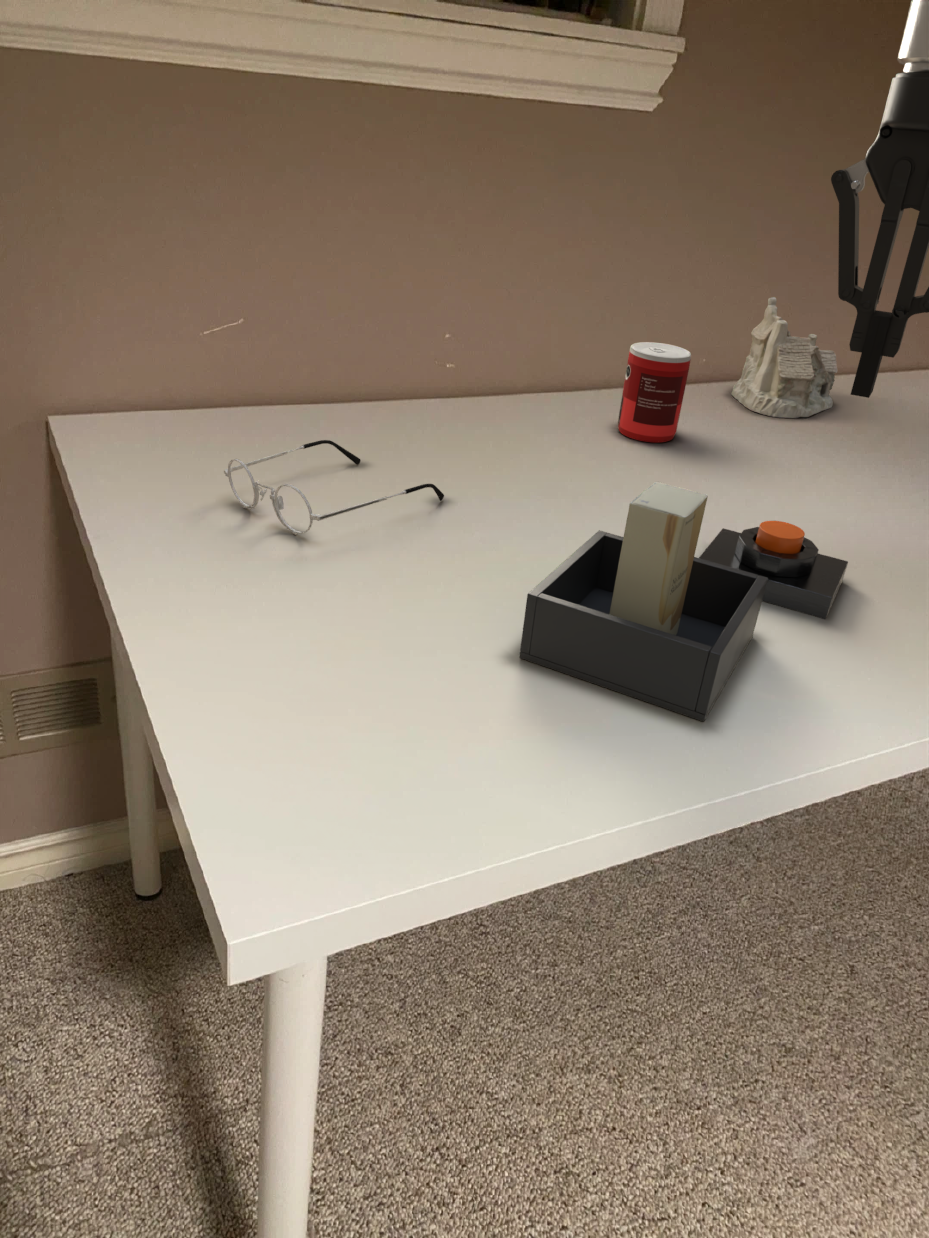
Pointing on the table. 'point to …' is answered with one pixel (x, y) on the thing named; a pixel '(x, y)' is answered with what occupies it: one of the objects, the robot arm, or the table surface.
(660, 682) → the bin
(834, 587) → the control block
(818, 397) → the ceramic cottage
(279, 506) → the eyeglasses
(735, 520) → the table surface
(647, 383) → the canned food
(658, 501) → the cosmetic box
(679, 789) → the table surface
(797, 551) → the button
